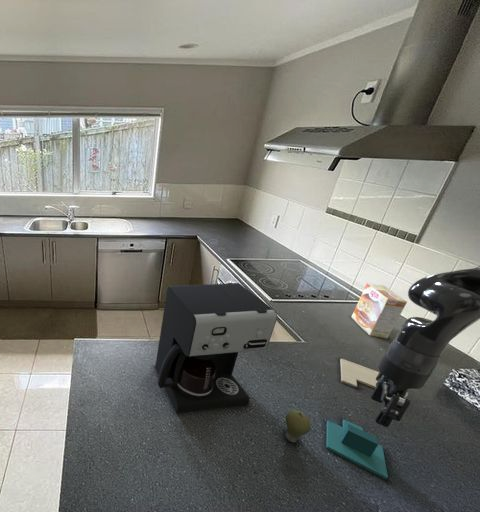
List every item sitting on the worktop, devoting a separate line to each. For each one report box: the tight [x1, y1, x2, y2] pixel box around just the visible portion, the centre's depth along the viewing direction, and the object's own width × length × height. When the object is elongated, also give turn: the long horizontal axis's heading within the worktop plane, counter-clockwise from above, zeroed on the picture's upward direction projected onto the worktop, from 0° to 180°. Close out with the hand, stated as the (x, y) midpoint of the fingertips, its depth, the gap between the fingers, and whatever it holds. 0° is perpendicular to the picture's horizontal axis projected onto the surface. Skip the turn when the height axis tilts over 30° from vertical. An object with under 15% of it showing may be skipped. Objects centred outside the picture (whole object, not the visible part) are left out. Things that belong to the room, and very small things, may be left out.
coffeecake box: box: [351, 282, 408, 339], centre depth 126 cm, size 15×7×20 cm, turn 164°
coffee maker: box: [154, 282, 278, 414], centre depth 87 cm, size 28×20×35 cm
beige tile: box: [339, 358, 391, 400], centre depth 99 cm, size 14×14×2 cm
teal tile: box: [325, 419, 389, 480], centre depth 77 cm, size 12×14×6 cm
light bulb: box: [285, 409, 312, 443], centre depth 76 cm, size 6×6×10 cm
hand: (378, 411), depth 70 cm, fingers open, 8 cm apart
